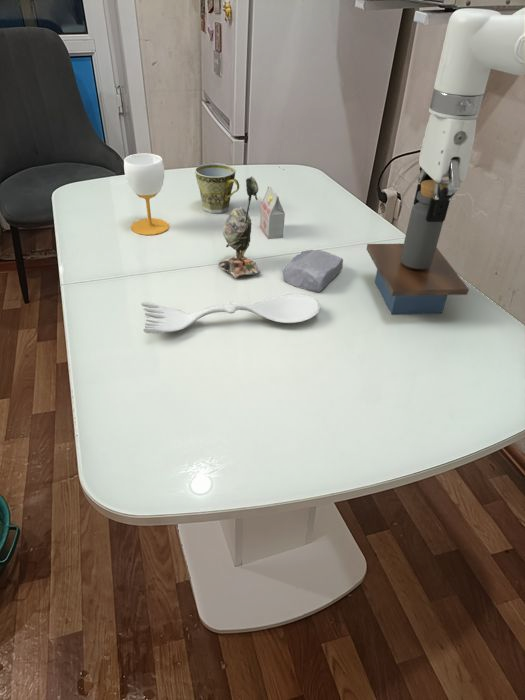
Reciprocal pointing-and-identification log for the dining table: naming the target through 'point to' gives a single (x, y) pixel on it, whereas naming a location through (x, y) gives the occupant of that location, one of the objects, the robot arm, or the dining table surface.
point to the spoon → (272, 309)
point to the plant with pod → (240, 236)
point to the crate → (410, 301)
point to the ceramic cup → (216, 186)
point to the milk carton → (272, 215)
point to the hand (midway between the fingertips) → (428, 212)
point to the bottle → (421, 231)
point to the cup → (146, 188)
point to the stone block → (312, 269)
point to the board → (415, 273)
